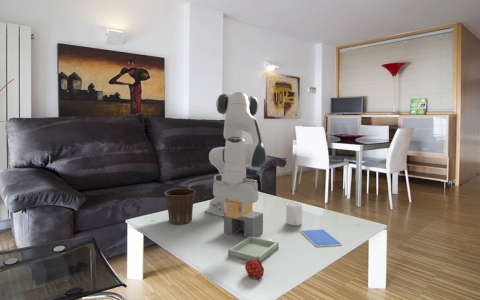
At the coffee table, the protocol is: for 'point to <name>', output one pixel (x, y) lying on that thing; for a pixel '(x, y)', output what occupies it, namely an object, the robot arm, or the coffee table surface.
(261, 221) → the block
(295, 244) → the coffee table surface
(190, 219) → the plant pot
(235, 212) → the orange rectangular block
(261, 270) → the red bumpy oval lump
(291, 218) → the mug
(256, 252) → the tray
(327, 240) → the tablet computer
